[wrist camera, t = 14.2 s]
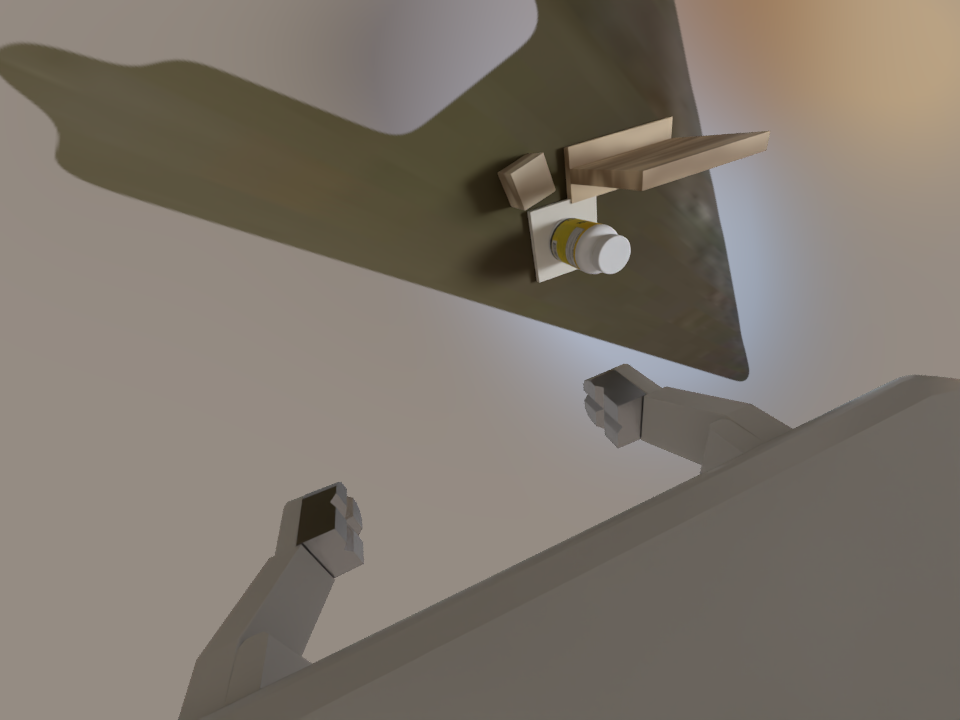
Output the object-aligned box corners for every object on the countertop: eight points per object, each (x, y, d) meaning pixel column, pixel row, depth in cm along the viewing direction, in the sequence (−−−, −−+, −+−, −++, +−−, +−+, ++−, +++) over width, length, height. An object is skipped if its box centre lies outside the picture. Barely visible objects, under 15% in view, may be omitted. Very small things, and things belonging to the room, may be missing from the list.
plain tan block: (496, 173, 39) (510, 174, 35) (526, 153, 39) (543, 152, 35) (511, 207, 41) (525, 211, 38) (539, 189, 41) (556, 191, 38)
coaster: (527, 211, 42) (530, 212, 41) (592, 190, 43) (595, 191, 42) (536, 280, 47) (539, 282, 46) (594, 260, 48) (598, 261, 47)
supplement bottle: (591, 228, 45) (645, 242, 37) (569, 267, 46) (617, 289, 38) (561, 208, 42) (612, 219, 34) (539, 250, 44) (582, 270, 36)
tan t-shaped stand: (563, 147, 40) (644, 141, 29) (666, 117, 42) (776, 102, 31) (567, 202, 43) (641, 216, 32) (662, 172, 45) (761, 175, 34)
